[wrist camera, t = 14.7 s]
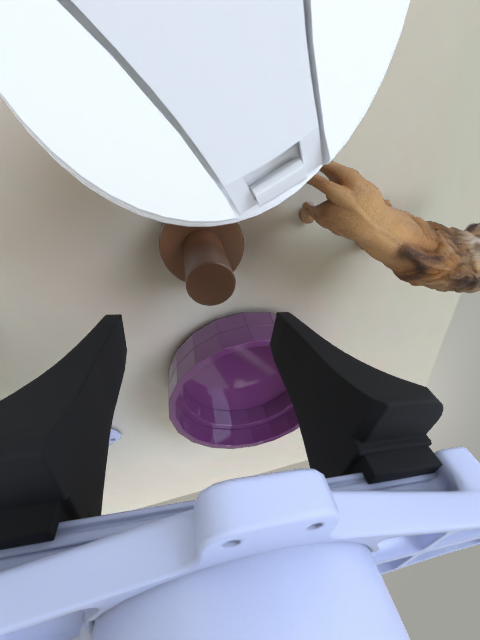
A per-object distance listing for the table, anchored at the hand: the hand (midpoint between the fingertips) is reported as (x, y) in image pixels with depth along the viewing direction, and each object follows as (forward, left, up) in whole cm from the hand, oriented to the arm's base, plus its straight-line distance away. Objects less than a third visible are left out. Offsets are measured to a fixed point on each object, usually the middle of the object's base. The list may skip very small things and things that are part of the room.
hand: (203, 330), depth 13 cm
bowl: (-3, -14, -10) cm, 17 cm away
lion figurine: (+12, -4, -10) cm, 16 cm away
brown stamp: (+1, +1, -10) cm, 10 cm away
